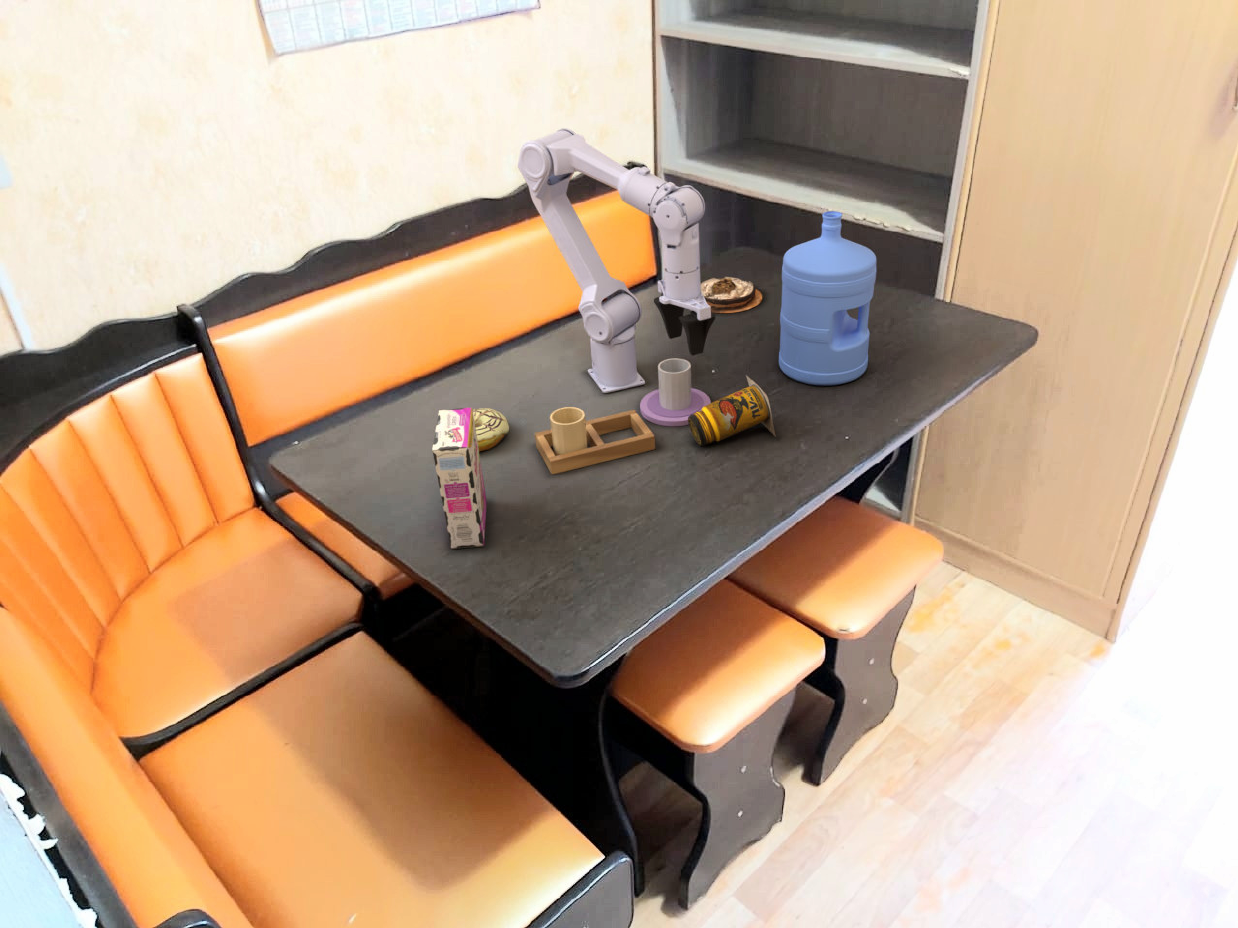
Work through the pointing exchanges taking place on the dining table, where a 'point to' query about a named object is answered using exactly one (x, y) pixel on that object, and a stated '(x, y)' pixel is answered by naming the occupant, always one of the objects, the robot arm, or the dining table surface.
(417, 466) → the dining table surface
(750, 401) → the condiment
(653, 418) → the lavender plate
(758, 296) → the cake on plate
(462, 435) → the candy bar box
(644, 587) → the dining table surface
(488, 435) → the decorated donut
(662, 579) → the dining table surface
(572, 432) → the beige cup
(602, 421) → the cup rack
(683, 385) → the steel cup
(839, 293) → the water jug
